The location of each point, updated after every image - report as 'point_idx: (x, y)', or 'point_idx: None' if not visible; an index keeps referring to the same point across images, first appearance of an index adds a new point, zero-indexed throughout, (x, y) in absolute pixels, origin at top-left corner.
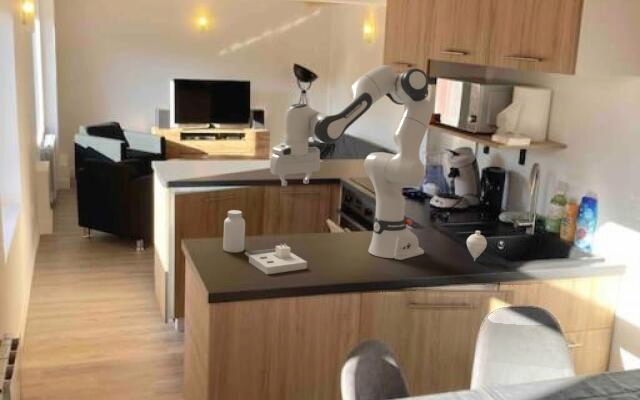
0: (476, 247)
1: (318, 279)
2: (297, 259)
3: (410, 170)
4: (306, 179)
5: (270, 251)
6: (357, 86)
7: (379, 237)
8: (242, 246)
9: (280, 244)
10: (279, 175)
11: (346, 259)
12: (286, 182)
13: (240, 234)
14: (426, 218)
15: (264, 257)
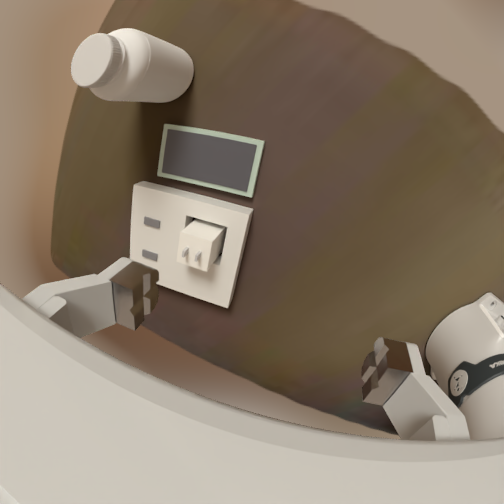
0: None
1: (210, 345)
2: (219, 283)
3: None
4: (371, 401)
5: (227, 159)
6: None
7: (446, 372)
8: (168, 99)
9: (183, 250)
10: (34, 300)
11: (364, 317)
12: (132, 319)
13: (136, 100)
14: None
15: (152, 225)
